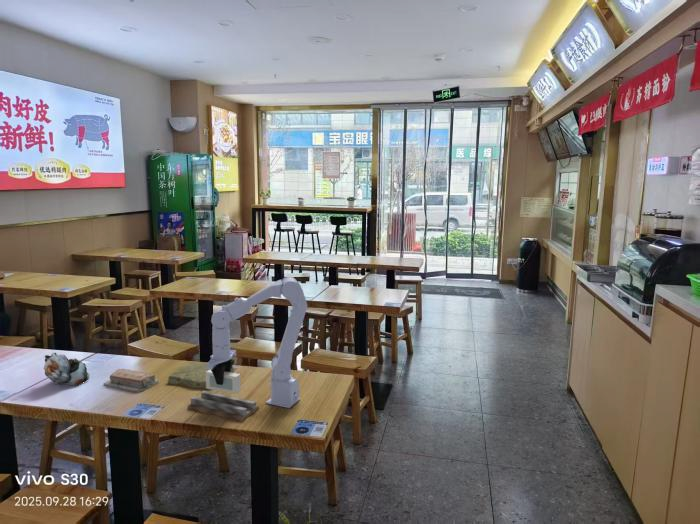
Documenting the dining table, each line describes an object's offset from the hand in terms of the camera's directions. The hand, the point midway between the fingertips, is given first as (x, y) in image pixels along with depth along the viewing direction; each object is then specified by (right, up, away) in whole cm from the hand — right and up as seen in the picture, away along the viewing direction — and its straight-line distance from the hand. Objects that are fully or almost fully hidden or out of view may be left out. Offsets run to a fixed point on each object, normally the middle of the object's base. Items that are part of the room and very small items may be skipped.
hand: (222, 382), depth 162 cm
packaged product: (-40, -6, +19) cm, 45 cm away
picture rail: (+1, -9, -1) cm, 9 cm away
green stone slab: (-15, -5, +25) cm, 30 cm away
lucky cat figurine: (-64, -5, +19) cm, 67 cm away
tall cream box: (0, -3, 0) cm, 3 cm away
